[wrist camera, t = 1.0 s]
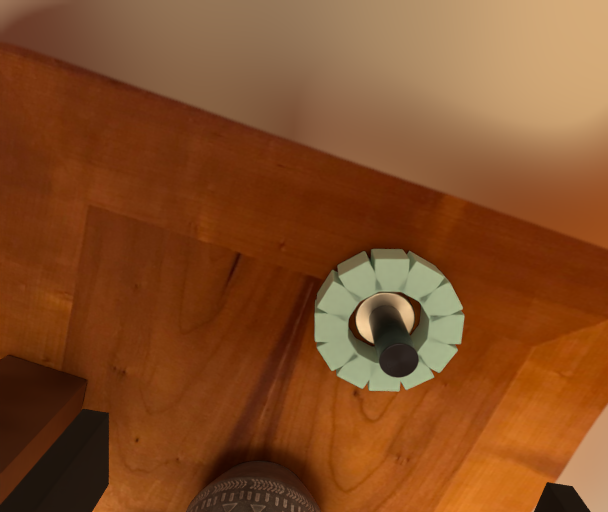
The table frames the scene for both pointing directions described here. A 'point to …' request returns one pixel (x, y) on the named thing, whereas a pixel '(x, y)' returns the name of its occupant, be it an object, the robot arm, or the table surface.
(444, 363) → the ring
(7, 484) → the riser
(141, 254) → the table surface
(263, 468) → the planter
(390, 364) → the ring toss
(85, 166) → the table surface
